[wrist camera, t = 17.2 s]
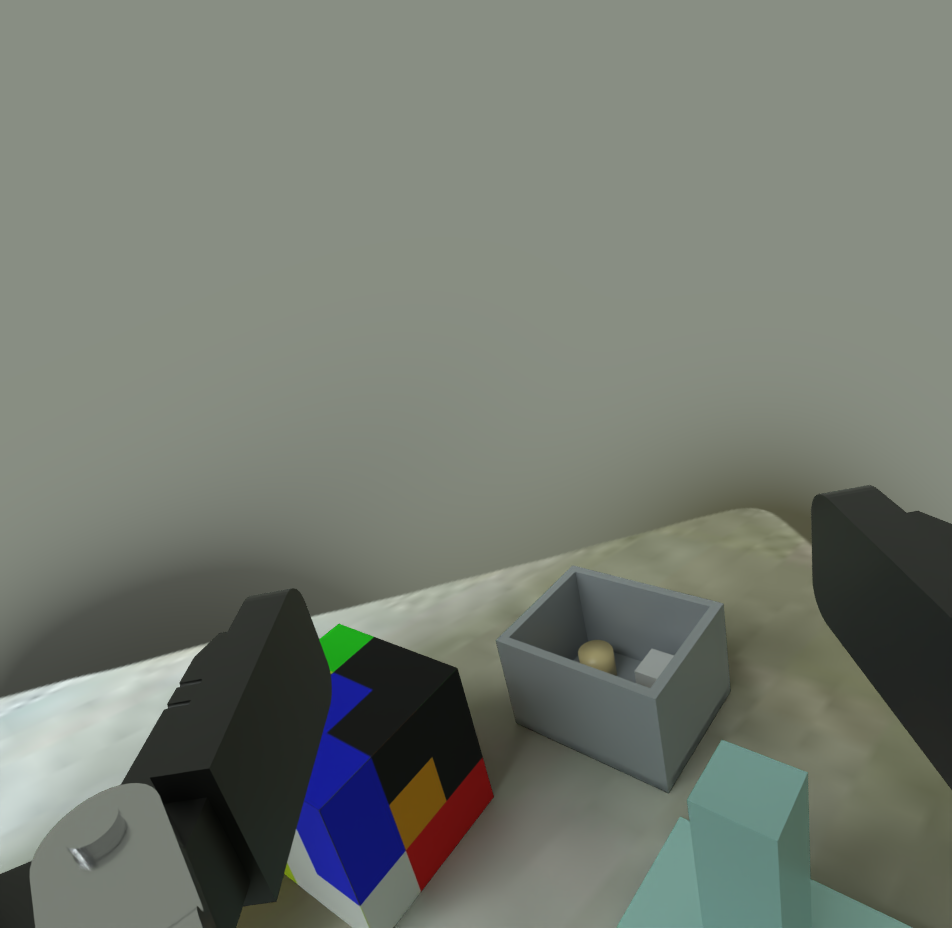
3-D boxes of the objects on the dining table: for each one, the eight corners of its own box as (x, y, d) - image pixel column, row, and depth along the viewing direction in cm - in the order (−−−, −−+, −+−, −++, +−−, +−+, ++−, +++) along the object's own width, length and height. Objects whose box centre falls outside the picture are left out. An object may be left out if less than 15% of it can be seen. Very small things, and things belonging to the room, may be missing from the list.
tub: (516, 722, 46) (495, 640, 43) (586, 642, 52) (572, 565, 49) (668, 793, 39) (655, 699, 36) (730, 690, 45) (723, 603, 42)
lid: (583, 1003, 30) (536, 816, 26) (681, 829, 37) (658, 654, 32) (892, 1232, 23) (906, 1023, 18) (948, 960, 29) (969, 753, 24)
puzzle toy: (378, 949, 34) (318, 810, 31) (263, 858, 41) (202, 733, 37) (494, 797, 41) (457, 668, 37) (380, 739, 47) (338, 623, 44)
